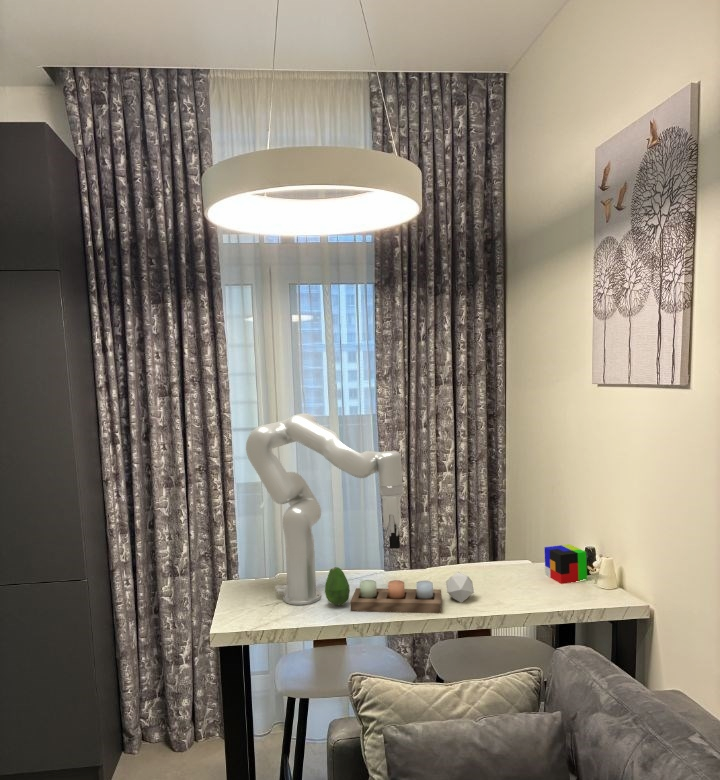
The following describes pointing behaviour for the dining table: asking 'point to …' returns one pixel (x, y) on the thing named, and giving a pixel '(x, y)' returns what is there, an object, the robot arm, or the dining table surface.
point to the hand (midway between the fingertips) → (395, 547)
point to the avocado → (337, 587)
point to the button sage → (368, 589)
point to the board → (396, 602)
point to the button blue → (424, 589)
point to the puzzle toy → (565, 563)
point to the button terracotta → (396, 589)
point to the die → (459, 586)
